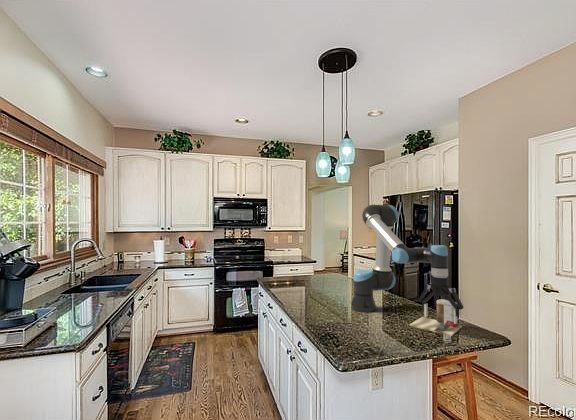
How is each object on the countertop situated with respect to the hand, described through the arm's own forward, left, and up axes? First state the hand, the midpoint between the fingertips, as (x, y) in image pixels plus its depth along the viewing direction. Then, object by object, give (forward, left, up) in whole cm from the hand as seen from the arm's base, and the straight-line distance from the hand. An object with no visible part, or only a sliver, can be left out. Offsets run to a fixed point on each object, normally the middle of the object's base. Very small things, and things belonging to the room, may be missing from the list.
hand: (440, 319), depth 149 cm
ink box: (0, +11, -5) cm, 12 cm away
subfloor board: (-4, +6, -6) cm, 9 cm away
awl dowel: (0, 0, -5) cm, 5 cm away
